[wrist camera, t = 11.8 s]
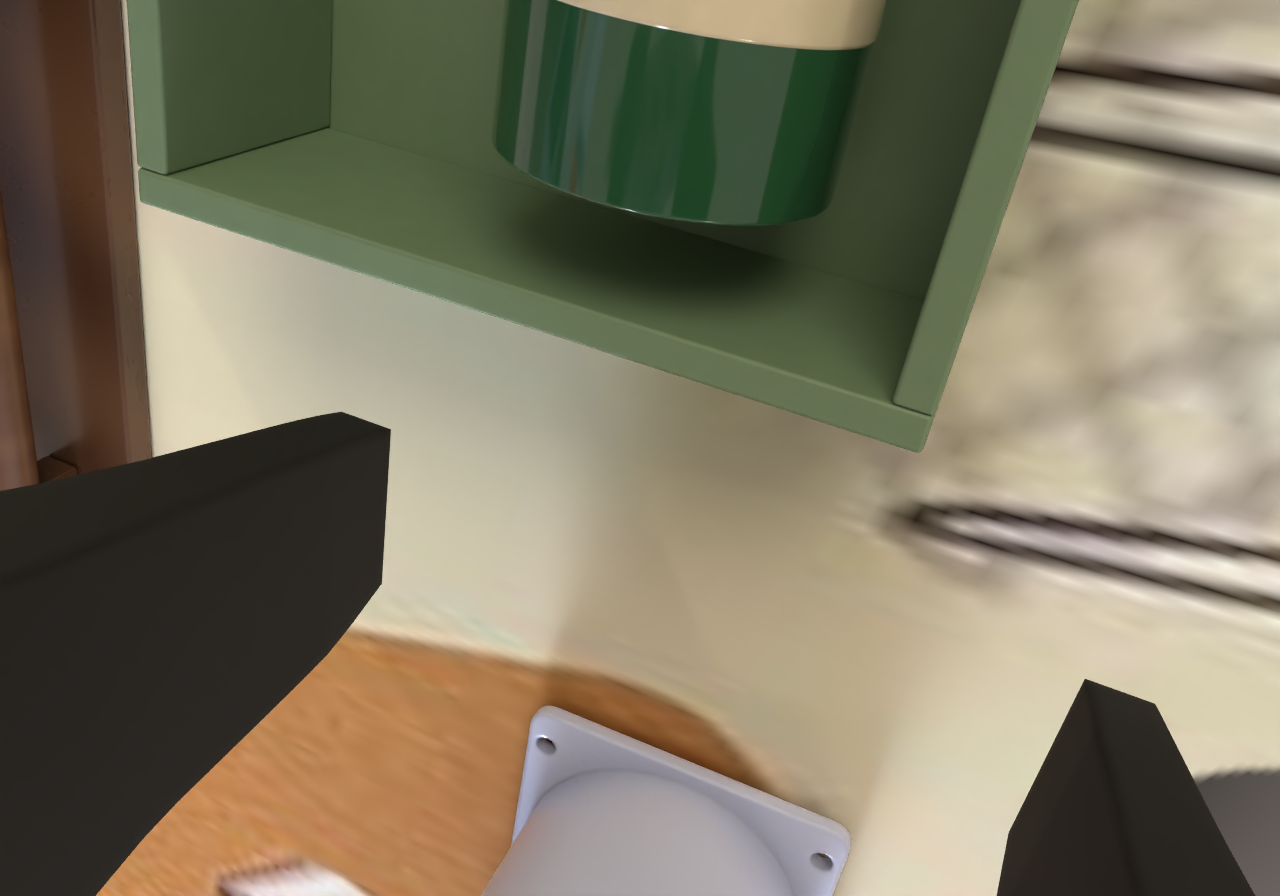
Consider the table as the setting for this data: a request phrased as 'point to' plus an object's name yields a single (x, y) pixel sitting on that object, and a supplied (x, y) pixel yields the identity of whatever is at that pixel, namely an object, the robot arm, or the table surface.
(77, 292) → the rack
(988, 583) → the table surface
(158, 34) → the basket
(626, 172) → the bottle
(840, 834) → the robot arm
